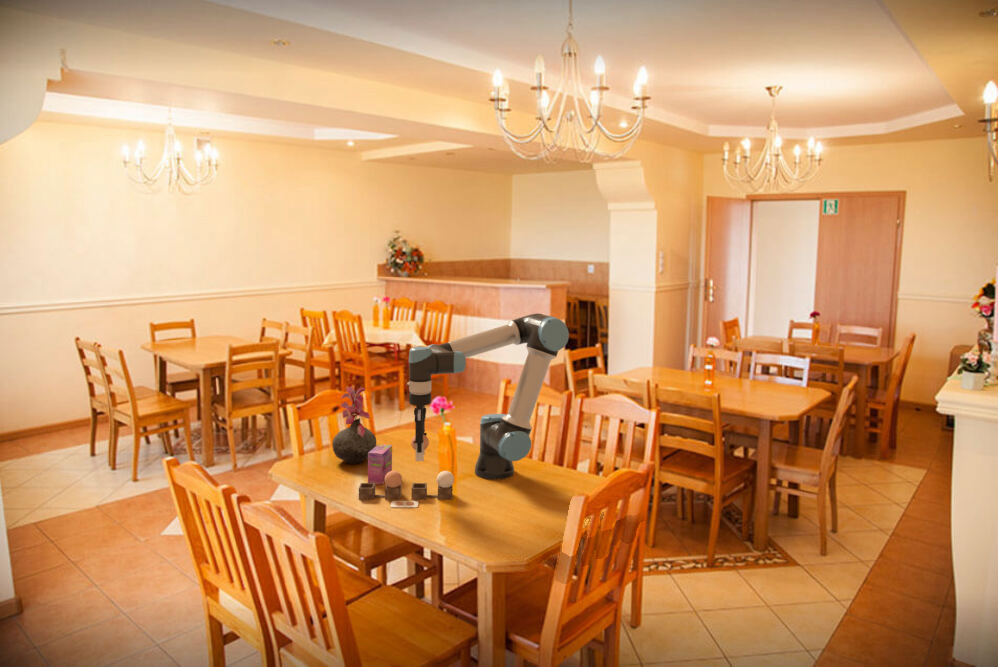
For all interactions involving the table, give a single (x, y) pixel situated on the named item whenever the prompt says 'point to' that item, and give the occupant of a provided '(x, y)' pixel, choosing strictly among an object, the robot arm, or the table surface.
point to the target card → (404, 504)
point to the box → (379, 463)
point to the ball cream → (445, 479)
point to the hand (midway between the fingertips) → (420, 457)
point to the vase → (354, 432)
